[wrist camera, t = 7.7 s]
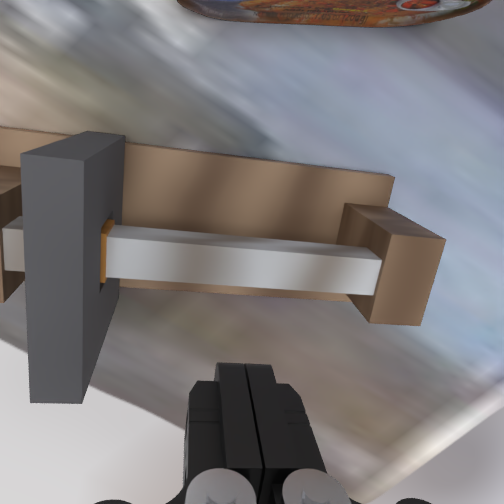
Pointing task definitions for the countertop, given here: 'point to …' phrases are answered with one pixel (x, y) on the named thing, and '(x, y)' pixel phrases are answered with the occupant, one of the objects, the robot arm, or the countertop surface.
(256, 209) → the rod stand
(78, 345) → the dark grey square plate
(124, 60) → the countertop surface
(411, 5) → the tin
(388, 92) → the countertop surface
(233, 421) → the robot arm
